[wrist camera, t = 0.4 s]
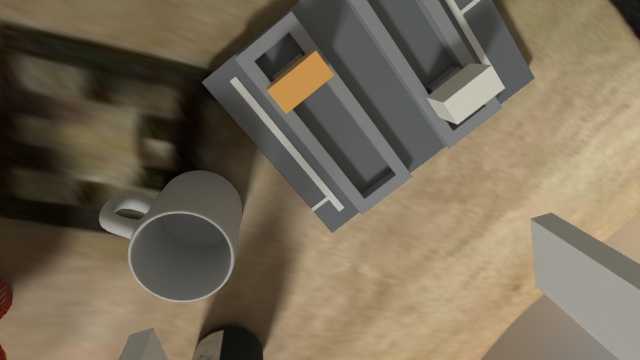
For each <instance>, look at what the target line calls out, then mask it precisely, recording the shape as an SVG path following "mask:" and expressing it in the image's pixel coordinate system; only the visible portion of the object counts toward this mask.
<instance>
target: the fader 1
mask: <svg viewBox="0 0 640 360" xmlns="http://www.w3.org/2000/svg"><path fill="white" fill-rule="evenodd" d="M333 76H334V74H333V73H332V72H331V70H330V69H329V67H328V66H327V65H326V63H325V62H324V61H323V59H322V58H321V57H320V55H319V54H318V52H317V51H316V50H310V51H309V52H308V53H307V54H305V55H304V56H303V57H302V55H301V54H298V55H297V56H295V57H294V58H293V59H292V60H291V61H289V62H288V63H287V64H286V65H285V66H283V67H282V68H281V69H280V70H278V71H277V72H276V73H275V74H274V75H272V77H273V79H274V81H273V82H271V83H270V84H269V85H268V86H267V92H268V93H269V94H270V95H271V97H272V98H273V99H274V100H275V101H276V103H277V104H278V105H279V106H280V108H281V109H282V110H283V111H284V113H285V114H287V113H288V112H289V111H291V110H292V109H293V108H294V107H296V106H297V105H298V104H299V103H301V102H302V101H303V100H304V99H305V98H307V97H308V96H309V95H310V94H312V93H313V92H314V91H315V90H317V89H318V88H319V87H320V86H322V85H323V84H324V83H325V82H327V81H328V80H329V79H330V78H331V77H333Z"/></svg>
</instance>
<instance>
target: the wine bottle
mask: <svg viewBox="0 0 640 360" xmlns="http://www.w3.org/2000/svg"><path fill="white" fill-rule="evenodd" d="M192 360H263V353H262V346H261V344H260V342H259V341H258V339H257V338H256V336H255V335H253V334H252V333H250V332H249V331H248V330H246V329H243V328H239V327H236V326H223V327H220V328H217V329H214V330H212V331H210V332H209V333H207V334H206V335H205V336H203V337H202V338H201V340H200V341H199V343H198V344H197V346H196V348H195V351H194V355H193V359H192Z"/></svg>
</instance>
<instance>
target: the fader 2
mask: <svg viewBox="0 0 640 360" xmlns="http://www.w3.org/2000/svg"><path fill="white" fill-rule="evenodd" d="M425 88H426V89H427V91H428V93H429V94H430V95H428V96H427V97H426V98H427V100H428V101H429V103H430V104H431V106H432V107H433V109H434V110H435V112H436V113H437V115H438V116H439V117H440V118H442V119H445V120H447V121H450V122H452V123H455V124H457V125H458V124H459V123H460V122H462V121H463V120H464V119H465V118H467V117H468V116H469V115H471V114H472V113H473V112H475V111H476V110H477V109H478V108H480V107H481V106H482V105H484V104H485V103H486V102H488V101H489V100H490V99H492V98H493V97H494V96H495V95H497V94H498V93H499V92H501V91H502V90H503V89H505V87H504V85H503V84H502V82H501V80H500V78H499V77H498V75H497V73H496V72H495V70H494V68H493V66H492V65H483V64H470V63H469V64H468V65H467V66H465V67H464V68H463V69H462V70H461V68H460V67H455V66H451V67H450V68H449V69H447V70H446V71H445V72H443V73H442V74H441V75H440V76H438V77H437V78H436V79H435V80H433V81H432V82H431V83H429V84H428V85H427V86H426V87H425Z"/></svg>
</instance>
